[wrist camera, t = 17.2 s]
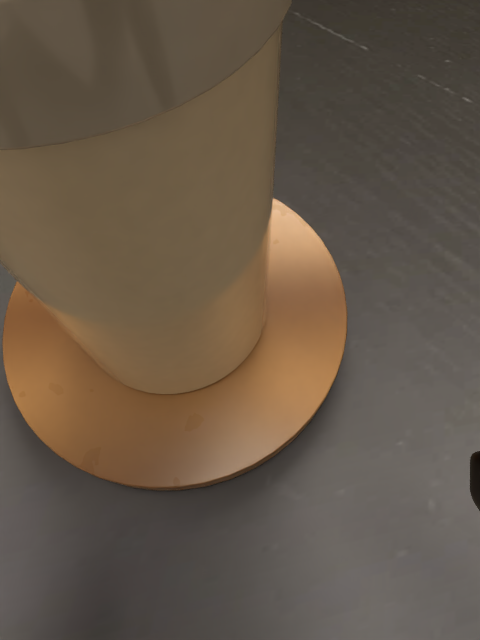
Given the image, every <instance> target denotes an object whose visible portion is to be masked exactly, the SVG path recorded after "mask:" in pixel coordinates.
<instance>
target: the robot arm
mask: <svg viewBox="0 0 480 640" xmlns="http://www.w3.org/2000/svg"><path fill="white" fill-rule="evenodd" d="M470 492H471V496H472V499H473V501H474V503H475V504H476V506H477V508H478V509H479V511H480V451H478V452H475V453H473V454H472V456H471V459H470Z"/></svg>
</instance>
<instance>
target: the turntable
mask: <svg viewBox="0 0 480 640" xmlns="http://www.w3.org/2000/svg"><path fill="white" fill-rule="evenodd" d="M346 336H347V307H346V299H345V292H344V288H343V285H342V281H341V278H340V274H339V272H338V270H337V267H336V265H335V263H334V260H333V258H332V256H331V254H330V253H329V251H328V250H327V248H326V246H325V245H324V243H323V241H322V240H321V239H320V237H319V236H318V235H317V234H316V233H315V231H314V230H313V229H312V228H311V227H310V225H308V224H307V223H306V222H305V221H304V220H303V219H302V218H301V217H300V216H299V215H298V214H297V213H295V212H294V211H293V210H291V209H290V208H289V207H287V206H286V205H284V204H283V203H282V202H280V201H278V200H276V199H275V198H273V208H272V226H271V244H270V262H269V280H268V299H267V312H266V319H265V323H264V327H263V330H262V333H261V335H260V337H259V340H258V341H257V343H256V345H255V347H254V348H253V350H252V351H251V353H250V354H249V355H248V356H247V358H246V359H245V360H244V361H243V362H242V363H241V364H240V365H239V366H238V367H237V368H236V369H235V370H233V371H232V372H231V373H229V374H228V375H227V376H225V377H224V378H222V379H220V380H219V381H217V382H215V383H213V384H211V385H208V386H206V387H204V388H201V389H197V390H194V391H190V392H185V393H178V394H155V393H148V392H144V391H140V390H136V389H133V388H131V387H128V386H126V385H124V384H122V383H120V382H118V381H117V380H115V379H113V378H112V377H111V376H110V375H108V374H107V373H106V372H105V371H104V370H103V369H102V368H101V367H100V366H99V365H98V364H97V363H96V362H95V361H94V360H93V359H92V358H91V357H90V356H89V355H88V354H87V353H86V352H85V351H84V350H83V349H82V348H81V347H80V345H79V344H78V343H77V342H76V341H75V340H74V339H73V338H72V337H71V336H70V335H69V334H68V333H67V332H66V331H65V330H64V329H63V328H62V327H61V326H60V325H59V324H58V323H57V322H56V321H55V320H54V319H53V318H52V316H51V315H50V314H49V313H48V312H47V311H46V310H45V309H44V308H43V307H42V306H41V305H40V304H39V303H38V302H37V301H36V300H35V299H34V298H33V297H32V296H31V295H30V294H29V293H28V292H27V291H26V290H25V288H24V287H23V286H22V285H21V284H20V283H19V282H18V281H17V282H16V285H15V287H14V290H13V292H12V295H11V297H10V300H9V304H8V308H7V312H6V316H5V321H4V330H3V361H4V366H5V371H6V377H7V382H8V384H9V387H10V390H11V393H12V395H13V398H14V401H15V403H16V405H17V407H18V408H19V410H20V412H21V414H22V415H23V417H24V419H25V421H26V422H27V423H28V425H29V426H30V427H31V428H32V430H33V431H34V432H35V433H36V435H37V436H38V437H39V439H41V440H42V441H43V442H44V443H45V444H46V445H47V446H48V447H49V448H50V449H51V450H53V451H54V452H55V453H56V454H57V455H59V456H60V457H62V458H63V459H65V460H66V461H68V462H69V463H71V464H72V465H74V466H75V467H77V468H79V469H81V470H83V471H85V472H88V473H90V474H92V475H94V476H96V477H99V478H101V479H104V480H108V481H111V482H115V483H118V484H122V485H125V486H129V487H133V488H141V489H148V490H156V491H157V490H186V489H193V488H199V487H206V486H209V485H213V484H216V483H220V482H223V481H226V480H230V479H232V478H235V477H237V476H239V475H241V474H243V473H246V472H248V471H250V470H252V469H254V468H256V467H257V466H259V465H261V464H262V463H264V462H265V461H267V460H269V459H270V458H272V457H273V456H275V455H276V454H277V453H279V452H280V451H281V450H282V449H283V448H285V447H286V446H287V445H288V444H289V443H291V442H292V441H293V440H294V439H295V438H296V437H297V436H298V435H299V434H300V432H301V431H302V430H303V429H304V428H305V427H306V426H307V425H308V424H309V423H310V421H311V420H312V418H313V417H314V415H315V414H316V412H317V411H318V409H319V408H320V406H321V405H322V403H323V402H324V400H325V398H326V396H327V394H328V392H329V390H330V388H331V386H332V384H333V382H334V380H335V378H336V376H337V373H338V370H339V366H340V363H341V360H342V357H343V354H344V348H345V342H346Z"/></svg>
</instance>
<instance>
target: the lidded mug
mask: <svg viewBox="0 0 480 640" xmlns="http://www.w3.org/2000/svg"><path fill="white" fill-rule="evenodd" d="M291 3H292V0H0V264H1V265H2V266H3V267H4V268H5V269H6V270H7V271H8V272H9V273H10V274H11V275H12V276H13V277H14V278H15V279H16V280H17V281H18V282H19V283H20V284H21V285H22V286H23V287H24V288H25V290H26V291H27V292H28V293H29V294H30V295H31V296H32V297H33V298H34V299H35V300H36V301H37V302H38V303H39V304H40V305H41V306H42V307H43V308H44V309H45V310H46V311H47V312H48V313H49V314H50V315H51V316H52V318H53V319H54V320H55V321H56V322H57V323H58V324H59V325H60V326H61V327H62V328H63V329H64V330H65V331H66V332H67V333H68V334H69V335H70V336H71V337H72V338H73V339H74V340H75V341H76V342H77V343H78V344H79V345H80V347H81V348H82V349H83V350H84V351H85V352H86V353H87V354H88V355H89V356H90V357H91V358H92V359H93V360H94V361H95V362H96V363H97V364H98V365H99V366H100V367H101V368H102V369H103V370H104V371H105V372H106V373H107V374H108V375H110V376H111V377H112V378H113V379H115V380H117V381H118V382H120V383H122V384H124V385H126V386H128V387H131V388H133V389H136V390H140V391H144V392H148V393H155V394H178V393H185V392H190V391H194V390H197V389H201V388H204V387H206V386H208V385H211V384H213V383H215V382H217V381H219V380H220V379H222V378H224V377H225V376H227V375H228V374H229V373H231V372H232V371H233V370H235V369H236V368H237V367H238V366H239V365H240V364H241V363H242V362H243V361H244V360H245V359H246V358H247V356H248V355H249V354H250V353H251V351H252V350H253V348H254V347H255V345H256V343H257V341H258V340H259V337H260V335H261V333H262V330H263V327H264V323H265V319H266V312H267V299H268V280H269V262H270V244H271V226H272V208H273V190H274V172H275V153H276V135H277V117H278V99H279V81H280V63H281V45H282V26H283V18H284V17H285V15H286V13H287V11H288V10H289V8H290V5H291Z"/></svg>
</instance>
